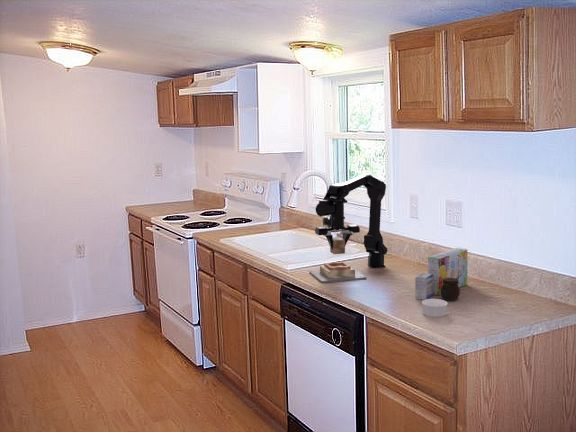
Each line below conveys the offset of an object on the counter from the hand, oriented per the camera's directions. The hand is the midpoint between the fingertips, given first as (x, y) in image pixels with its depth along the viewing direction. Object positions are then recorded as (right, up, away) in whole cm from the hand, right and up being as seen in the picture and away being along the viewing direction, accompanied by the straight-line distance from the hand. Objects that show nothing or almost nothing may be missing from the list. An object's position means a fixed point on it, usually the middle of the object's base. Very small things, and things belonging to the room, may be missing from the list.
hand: (337, 249), depth 282 cm
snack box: (+43, -15, -21) cm, 50 cm away
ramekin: (+30, -21, -52) cm, 64 cm away
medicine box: (+31, -17, -32) cm, 47 cm away
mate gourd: (+40, -17, -35) cm, 56 cm away
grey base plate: (0, -12, +2) cm, 12 cm away
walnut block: (0, -2, 0) cm, 2 cm away
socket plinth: (0, -11, +2) cm, 11 cm away
